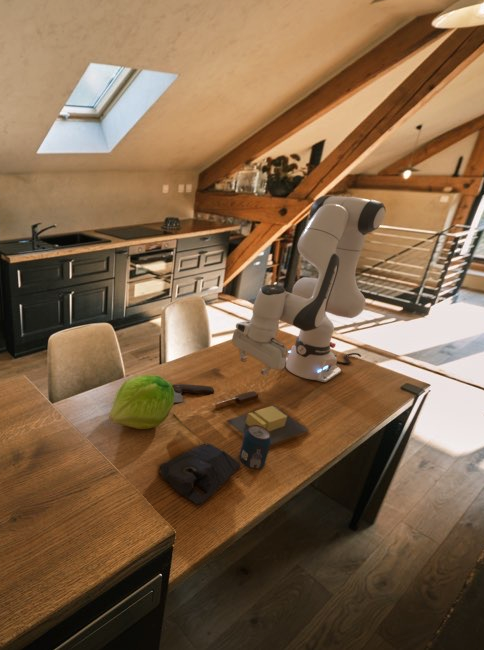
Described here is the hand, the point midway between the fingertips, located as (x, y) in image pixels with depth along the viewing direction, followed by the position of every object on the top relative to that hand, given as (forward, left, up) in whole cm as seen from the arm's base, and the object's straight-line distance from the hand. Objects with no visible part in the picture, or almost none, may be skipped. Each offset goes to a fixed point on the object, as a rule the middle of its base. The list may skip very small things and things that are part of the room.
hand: (253, 367), depth 134 cm
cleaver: (+21, -13, -15) cm, 29 cm away
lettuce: (+42, -5, -15) cm, 45 cm away
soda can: (+21, +23, -15) cm, 35 cm away
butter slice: (+9, +13, -13) cm, 21 cm away
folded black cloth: (+37, +20, -15) cm, 45 cm away
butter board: (+4, +14, -15) cm, 21 cm away
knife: (+4, 0, -15) cm, 15 cm away
